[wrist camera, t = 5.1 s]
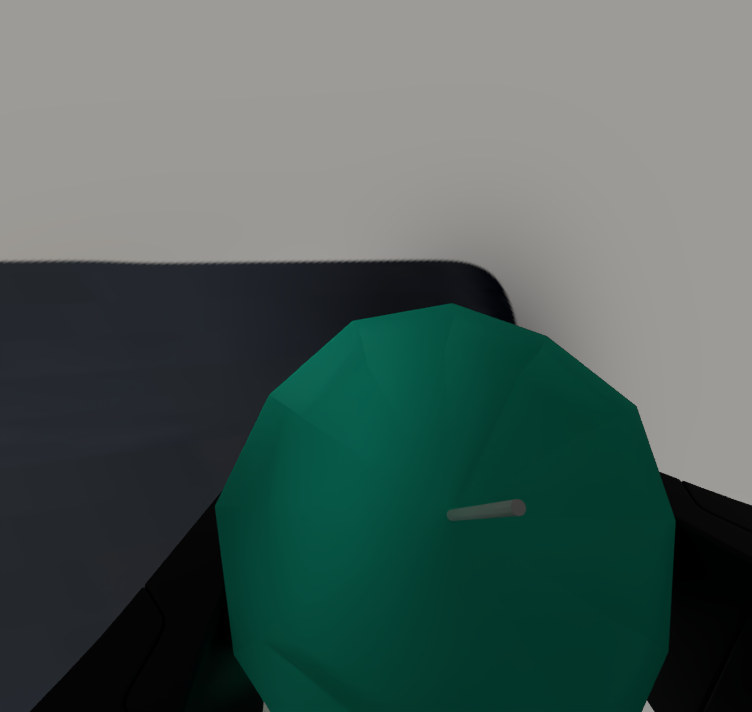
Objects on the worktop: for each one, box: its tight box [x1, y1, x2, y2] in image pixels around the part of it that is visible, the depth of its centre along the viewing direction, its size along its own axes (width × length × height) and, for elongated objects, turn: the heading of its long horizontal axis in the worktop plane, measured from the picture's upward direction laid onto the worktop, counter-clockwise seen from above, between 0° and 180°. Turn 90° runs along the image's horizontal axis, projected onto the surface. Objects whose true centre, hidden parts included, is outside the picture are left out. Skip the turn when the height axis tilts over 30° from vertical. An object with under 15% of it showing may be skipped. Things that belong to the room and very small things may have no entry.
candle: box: [215, 303, 676, 712], centre depth 9 cm, size 6×6×12 cm
